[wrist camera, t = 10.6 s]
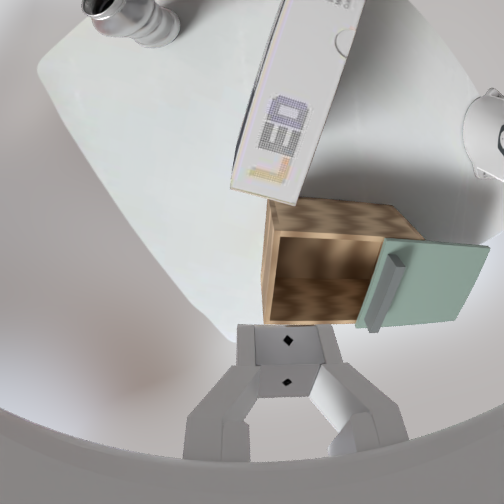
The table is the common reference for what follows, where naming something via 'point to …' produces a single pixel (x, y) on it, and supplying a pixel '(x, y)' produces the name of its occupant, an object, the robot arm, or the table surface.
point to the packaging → (293, 96)
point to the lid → (420, 282)
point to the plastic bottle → (134, 20)
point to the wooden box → (323, 258)
